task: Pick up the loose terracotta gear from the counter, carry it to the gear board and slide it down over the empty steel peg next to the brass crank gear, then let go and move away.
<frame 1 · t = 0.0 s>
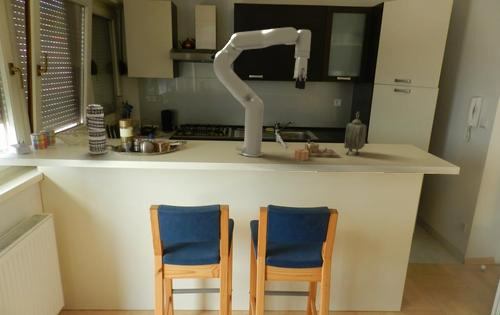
hand: (299, 88, 175), 37 cm above the worktop, tool pointing down, fingers open, 9 cm apart
caliper: (281, 145, 212), on the worktop
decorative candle: (98, 152, 176), on the worktop
gear board: (318, 154, 189), on the worktop
terracotta gear: (301, 158, 178), on the worktop
tabletop clock: (353, 154, 193), on the worktop
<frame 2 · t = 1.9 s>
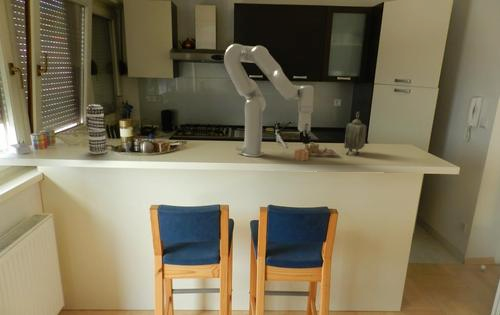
hand: (304, 141, 175), 9 cm above the worktop, tool pointing down, fingers open, 9 cm apart
nothing on the worktop moved.
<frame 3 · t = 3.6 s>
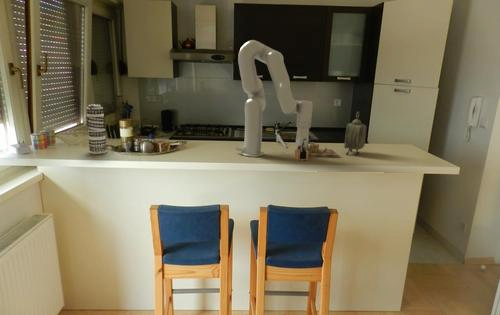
hand: (301, 156, 178), 1 cm above the worktop, tool pointing down, fingers closed on terracotta gear, 7 cm apart
terracotta gear: (301, 158, 178), on the worktop, touching gripper
everything else where it was.
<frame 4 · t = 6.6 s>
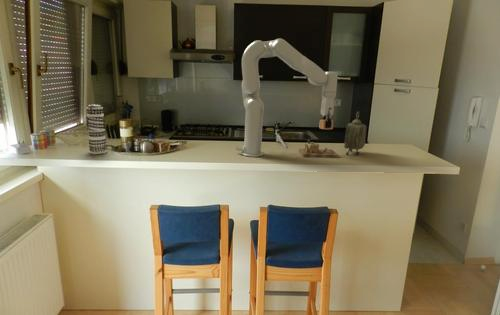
hand: (326, 126, 184), 16 cm above the worktop, tool pointing down, fingers closed on terracotta gear, 7 cm apart
terracotta gear: (326, 128, 185), point 15 cm above the worktop, touching gripper
everything else where it was.
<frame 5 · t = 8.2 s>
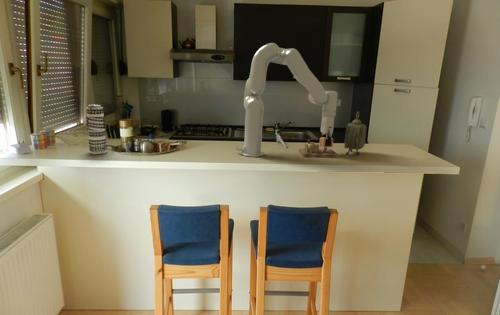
hand: (326, 144, 188), 6 cm above the worktop, tool pointing down, fingers closed on terracotta gear, 7 cm apart
terracotta gear: (325, 146, 188), point 5 cm above the worktop, touching gripper
everything else where it was.
when the fingers open (3 cm above the worktop, at t = 9.6 s): terracotta gear stays where it is, resting on gear board.
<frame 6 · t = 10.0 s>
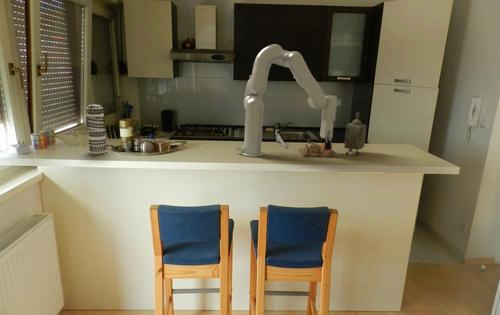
hand: (325, 147, 188), 4 cm above the worktop, tool pointing down, fingers open, 9 cm apart
terracotta gear: (325, 151, 189), point 1 cm above the worktop, touching gear board
everything else where it was.
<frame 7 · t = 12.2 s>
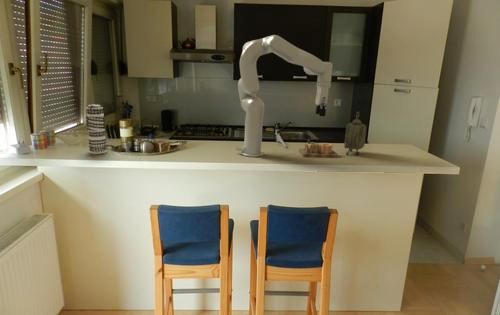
hand: (320, 115, 190), 22 cm above the worktop, tool pointing down, fingers open, 9 cm apart
nothing on the worktop moved.
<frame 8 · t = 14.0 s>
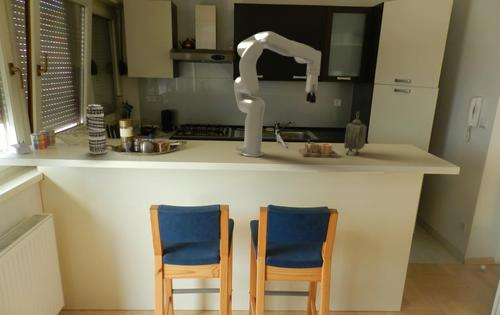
hand: (310, 102, 198), 28 cm above the worktop, tool pointing down, fingers open, 9 cm apart
nothing on the worktop moved.
at the end: terracotta gear 0.0 cm from the target spot on the gear board, point 1.5 cm above the gear board's base; terracotta gear tilted 0°; the gripper is holding nothing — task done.
